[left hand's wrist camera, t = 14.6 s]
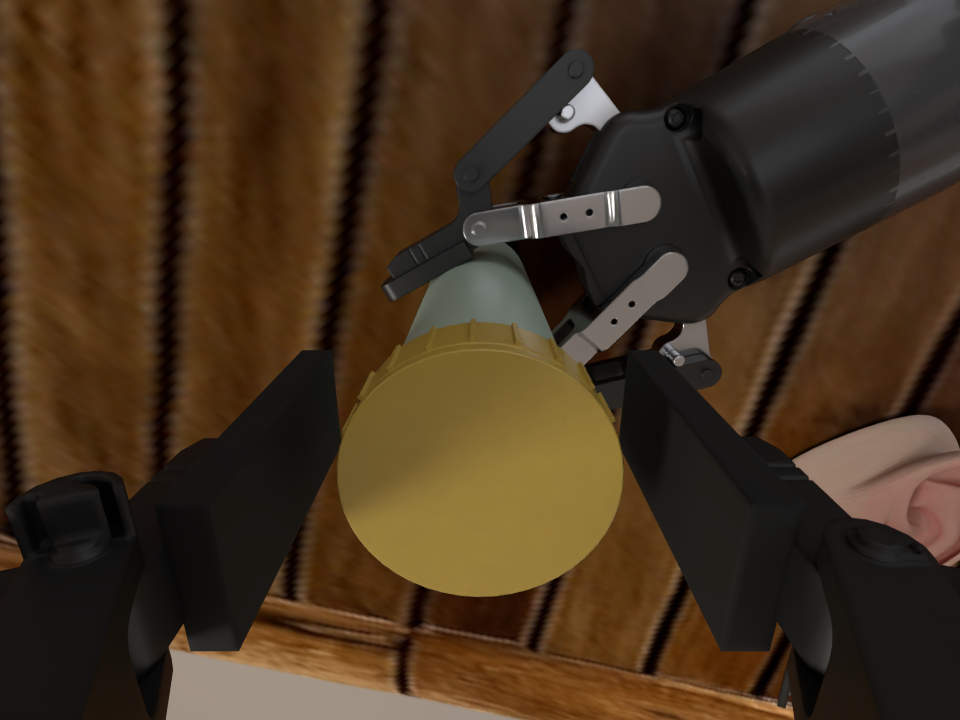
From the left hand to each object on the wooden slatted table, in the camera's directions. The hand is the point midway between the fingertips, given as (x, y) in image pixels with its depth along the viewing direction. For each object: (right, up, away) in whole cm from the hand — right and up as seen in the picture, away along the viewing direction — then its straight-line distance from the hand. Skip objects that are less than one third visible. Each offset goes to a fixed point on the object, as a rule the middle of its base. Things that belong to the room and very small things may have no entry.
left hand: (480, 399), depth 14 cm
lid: (0, -1, -3) cm, 4 cm away
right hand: (-2, +2, +8) cm, 9 cm away
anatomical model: (+23, -8, +19) cm, 31 cm away
